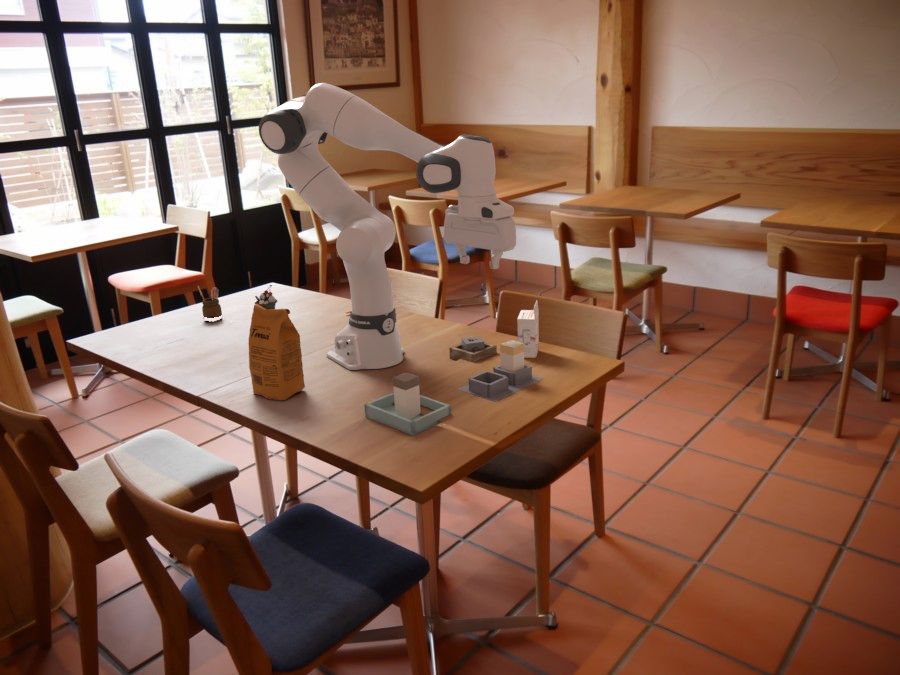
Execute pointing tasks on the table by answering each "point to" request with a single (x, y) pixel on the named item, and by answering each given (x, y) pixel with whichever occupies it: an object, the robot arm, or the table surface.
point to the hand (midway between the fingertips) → (479, 265)
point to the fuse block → (499, 382)
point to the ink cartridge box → (529, 331)
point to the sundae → (266, 300)
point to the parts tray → (385, 414)
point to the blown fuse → (406, 395)
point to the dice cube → (472, 344)
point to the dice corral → (458, 353)
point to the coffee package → (274, 354)
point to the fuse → (512, 356)
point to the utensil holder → (211, 306)
